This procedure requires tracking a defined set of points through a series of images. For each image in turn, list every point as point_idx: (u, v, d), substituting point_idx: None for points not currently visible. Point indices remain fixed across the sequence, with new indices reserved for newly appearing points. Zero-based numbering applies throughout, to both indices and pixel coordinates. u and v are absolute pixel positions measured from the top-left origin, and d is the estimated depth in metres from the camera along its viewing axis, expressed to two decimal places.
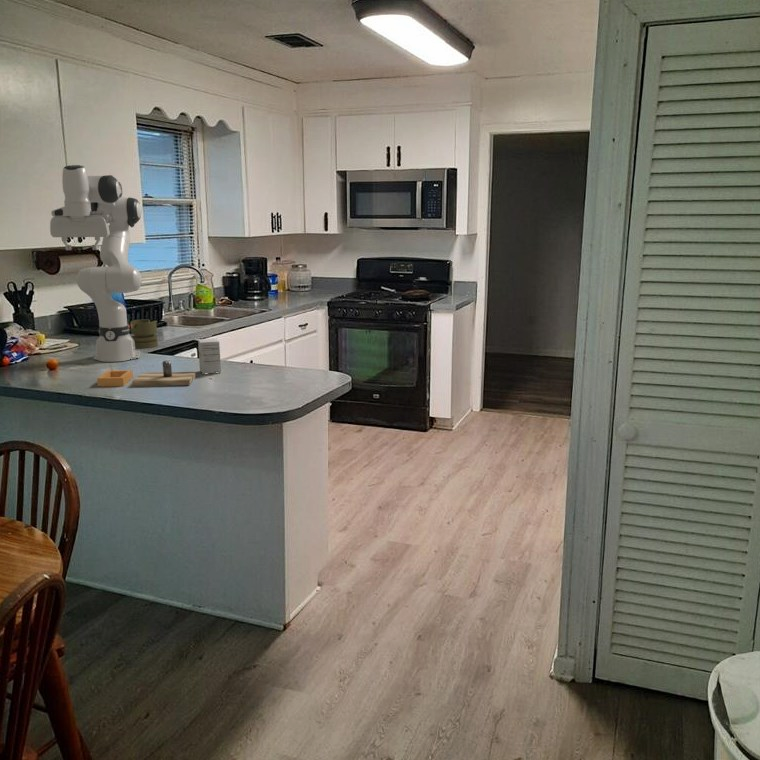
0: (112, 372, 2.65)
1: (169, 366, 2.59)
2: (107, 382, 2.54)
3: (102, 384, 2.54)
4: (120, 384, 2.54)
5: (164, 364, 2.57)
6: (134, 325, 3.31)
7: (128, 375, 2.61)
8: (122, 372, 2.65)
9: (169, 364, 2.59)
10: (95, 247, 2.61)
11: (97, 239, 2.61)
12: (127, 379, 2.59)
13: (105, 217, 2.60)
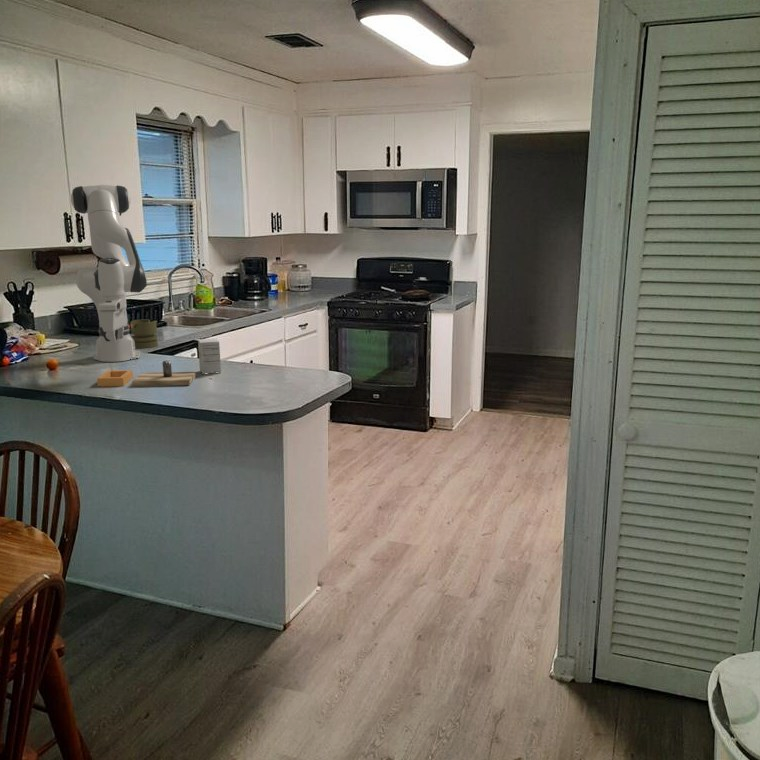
0: (112, 372, 2.65)
1: (169, 366, 2.59)
2: (107, 382, 2.54)
3: (102, 384, 2.54)
4: (120, 384, 2.54)
5: (164, 364, 2.57)
6: (134, 325, 3.31)
7: (128, 375, 2.61)
8: (122, 372, 2.65)
9: (169, 364, 2.59)
10: (123, 336, 2.67)
11: (123, 328, 2.68)
12: (127, 379, 2.59)
13: None
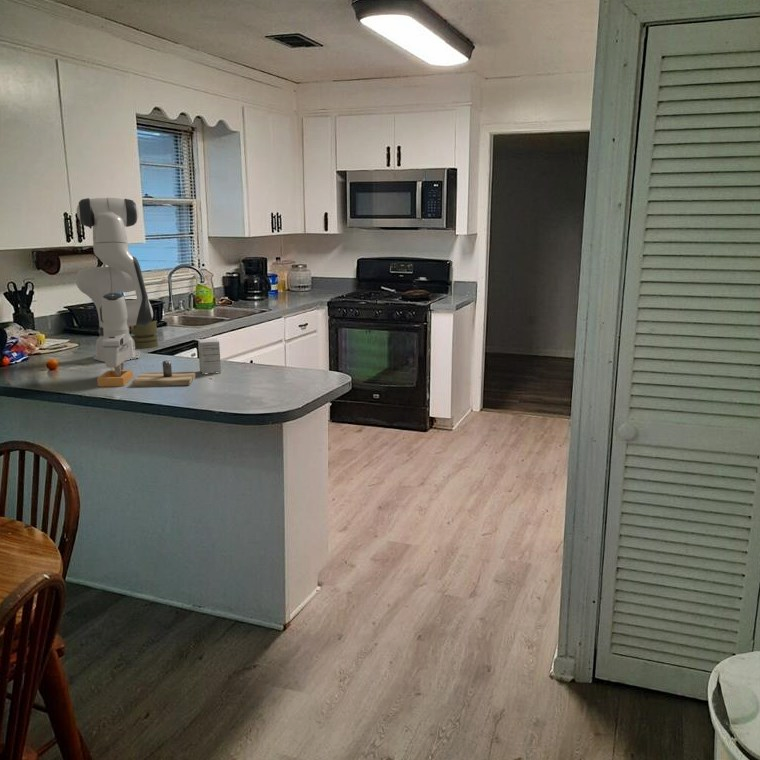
0: (112, 372, 2.65)
1: (169, 366, 2.59)
2: (107, 382, 2.54)
3: (102, 384, 2.54)
4: (120, 384, 2.54)
5: (164, 364, 2.57)
6: (134, 325, 3.31)
7: (128, 375, 2.61)
8: (122, 372, 2.65)
9: (169, 364, 2.59)
10: None
11: None
12: (127, 379, 2.59)
13: None
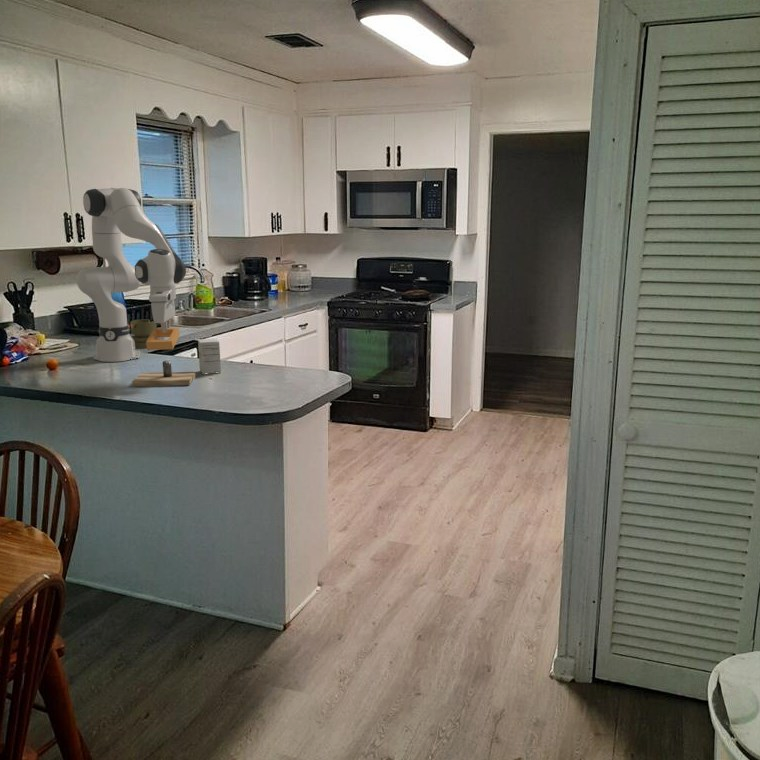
0: (158, 330, 2.61)
1: (169, 366, 2.59)
2: (156, 345, 2.52)
3: (151, 347, 2.52)
4: (169, 347, 2.52)
5: (164, 364, 2.57)
6: (134, 325, 3.31)
7: (175, 335, 2.58)
8: (168, 330, 2.62)
9: (169, 364, 2.59)
10: None
11: None
12: (174, 340, 2.56)
13: None
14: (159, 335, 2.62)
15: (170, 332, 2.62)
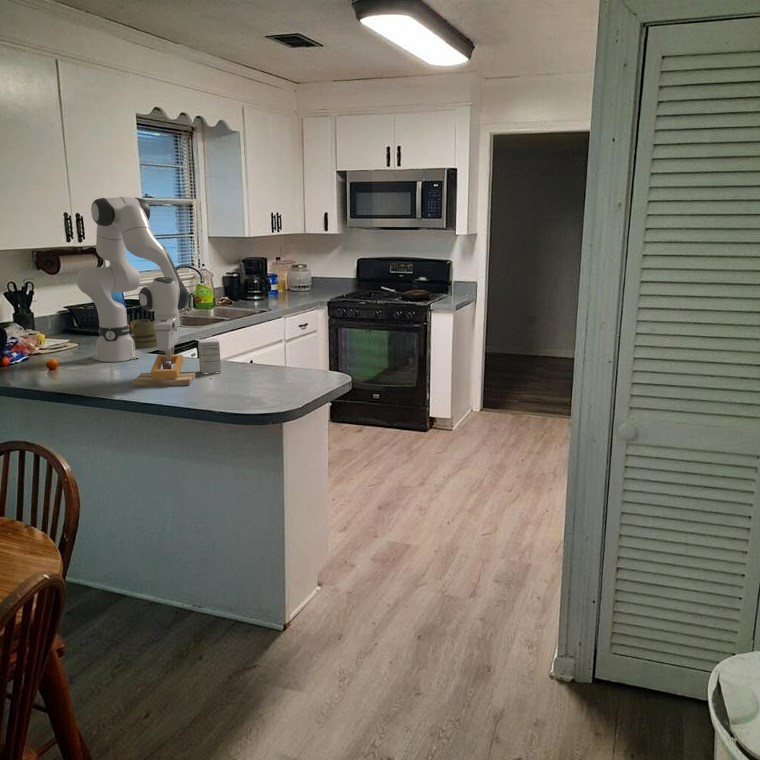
0: (162, 357, 2.64)
1: (169, 366, 2.59)
2: (161, 375, 2.54)
3: (156, 377, 2.55)
4: (174, 376, 2.55)
5: (164, 364, 2.57)
6: (134, 325, 3.31)
7: (179, 363, 2.60)
8: (172, 357, 2.64)
9: (169, 364, 2.59)
10: None
11: (173, 347, 2.67)
12: (179, 368, 2.59)
13: None
14: None
15: (174, 359, 2.64)
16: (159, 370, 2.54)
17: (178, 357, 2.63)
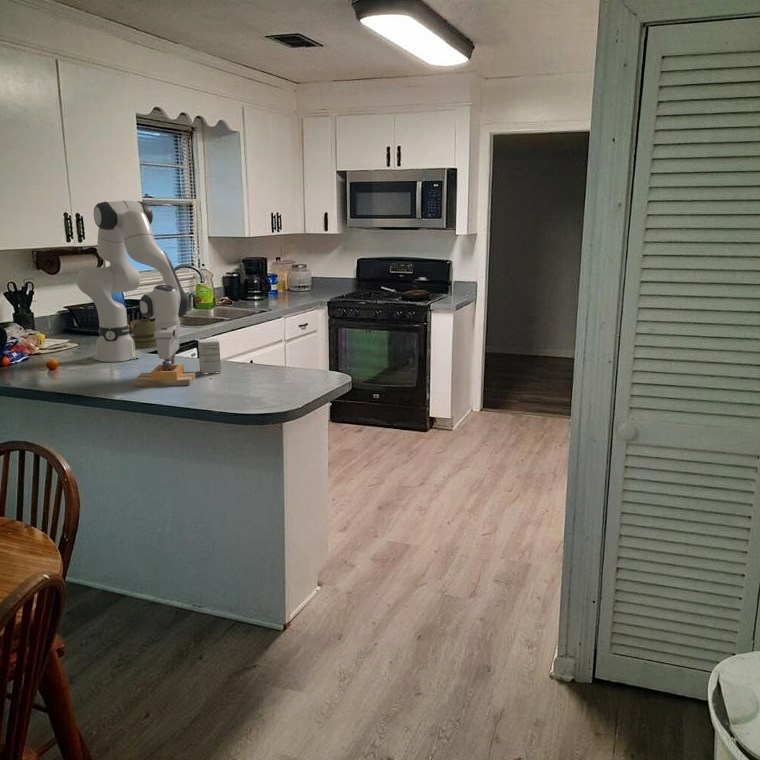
0: None
1: (169, 366, 2.59)
2: (160, 376, 2.54)
3: (156, 378, 2.54)
4: (173, 378, 2.55)
5: (164, 364, 2.57)
6: (134, 325, 3.31)
7: (180, 369, 2.61)
8: (173, 366, 2.65)
9: (169, 364, 2.59)
10: (174, 362, 2.69)
11: None
12: (179, 373, 2.59)
13: None
14: None
15: (175, 368, 2.65)
16: (159, 371, 2.54)
17: (179, 365, 2.64)
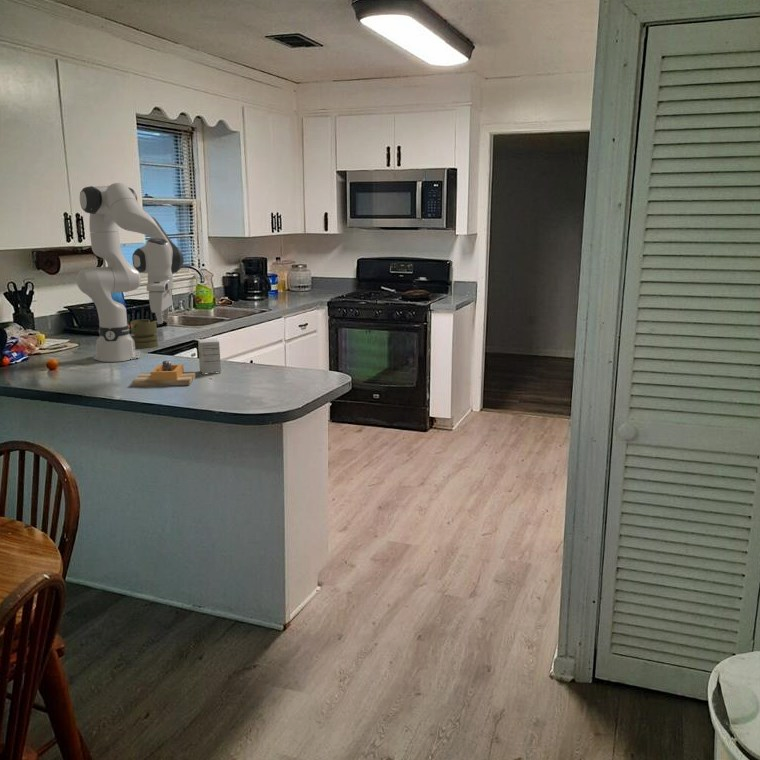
0: None
1: (169, 366, 2.59)
2: (160, 376, 2.54)
3: (156, 378, 2.54)
4: (173, 378, 2.55)
5: (164, 364, 2.57)
6: (134, 325, 3.31)
7: (180, 369, 2.61)
8: (173, 366, 2.65)
9: (169, 364, 2.59)
10: None
11: (168, 308, 2.68)
12: (179, 373, 2.59)
13: None
14: None
15: (175, 368, 2.65)
16: (159, 371, 2.54)
17: (179, 365, 2.64)
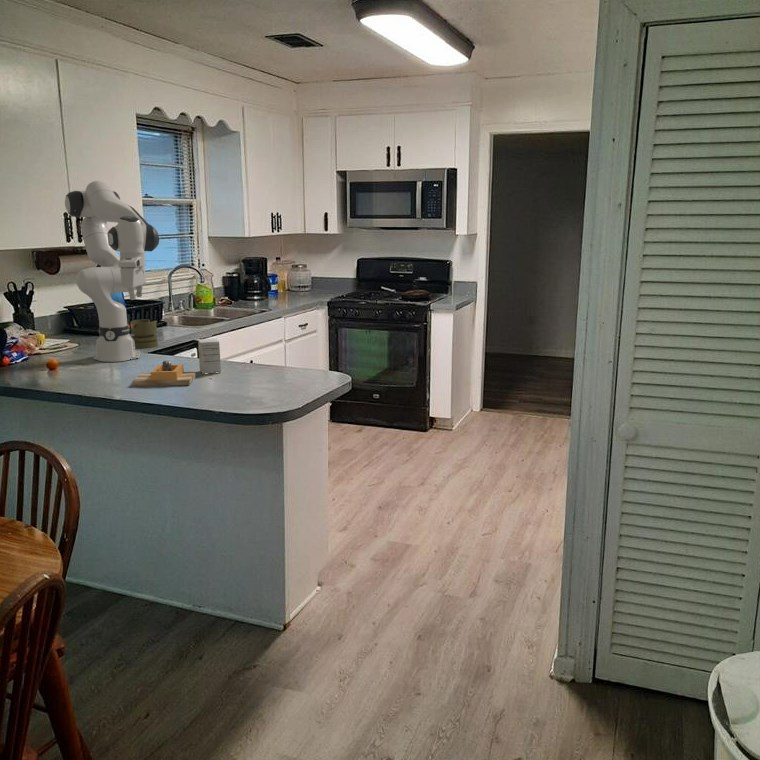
0: None
1: (169, 366, 2.59)
2: (160, 376, 2.54)
3: (156, 378, 2.54)
4: (173, 378, 2.55)
5: (164, 364, 2.57)
6: (134, 325, 3.31)
7: (180, 369, 2.61)
8: (173, 366, 2.65)
9: (169, 364, 2.59)
10: (141, 294, 2.73)
11: None
12: (179, 373, 2.59)
13: None
14: None
15: (175, 368, 2.65)
16: (159, 371, 2.54)
17: (179, 365, 2.64)
